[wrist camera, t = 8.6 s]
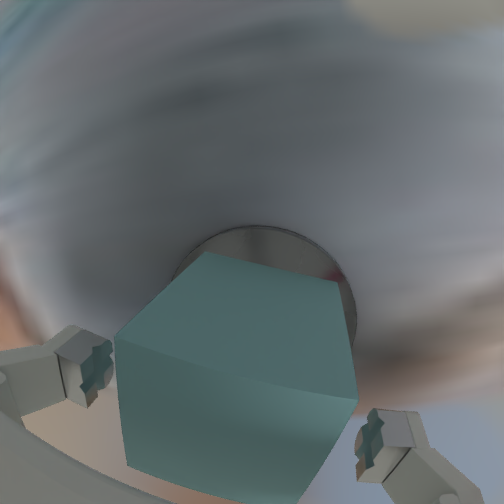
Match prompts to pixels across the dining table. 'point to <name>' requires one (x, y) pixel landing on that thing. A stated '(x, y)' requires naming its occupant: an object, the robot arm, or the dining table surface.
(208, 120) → the dining table surface
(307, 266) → the grey round stand
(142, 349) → the teal rectangular block
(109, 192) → the dining table surface
